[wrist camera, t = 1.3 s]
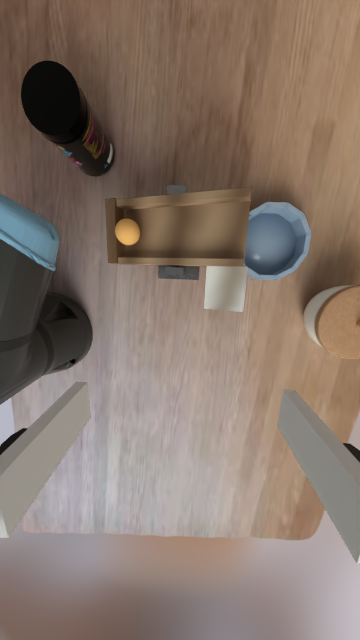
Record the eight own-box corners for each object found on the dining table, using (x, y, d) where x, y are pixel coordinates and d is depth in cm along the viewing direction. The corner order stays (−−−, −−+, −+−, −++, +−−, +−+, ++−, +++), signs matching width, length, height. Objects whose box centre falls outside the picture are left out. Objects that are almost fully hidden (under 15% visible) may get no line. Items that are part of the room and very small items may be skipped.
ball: (126, 246, 29) (110, 243, 26) (125, 222, 28) (109, 216, 25) (144, 246, 27) (130, 242, 24) (144, 221, 27) (129, 214, 24)
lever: (122, 300, 32) (109, 302, 29) (119, 206, 29) (105, 199, 26) (243, 310, 26) (242, 314, 23) (255, 196, 23) (256, 185, 20)
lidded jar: (322, 269, 34) (370, 268, 25) (369, 306, 35) (432, 318, 25) (279, 319, 36) (308, 335, 27) (323, 352, 37) (366, 378, 28)
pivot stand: (159, 278, 36) (147, 279, 27) (159, 204, 33) (147, 178, 24) (198, 279, 35) (200, 281, 26) (202, 205, 33) (206, 178, 24)
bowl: (227, 277, 35) (231, 278, 32) (234, 209, 32) (239, 201, 29) (292, 280, 34) (303, 281, 31) (303, 210, 32) (316, 202, 28)
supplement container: (75, 126, 31) (19, 56, 21) (117, 132, 31) (81, 64, 21) (74, 175, 33) (22, 131, 23) (114, 181, 33) (79, 139, 22)
